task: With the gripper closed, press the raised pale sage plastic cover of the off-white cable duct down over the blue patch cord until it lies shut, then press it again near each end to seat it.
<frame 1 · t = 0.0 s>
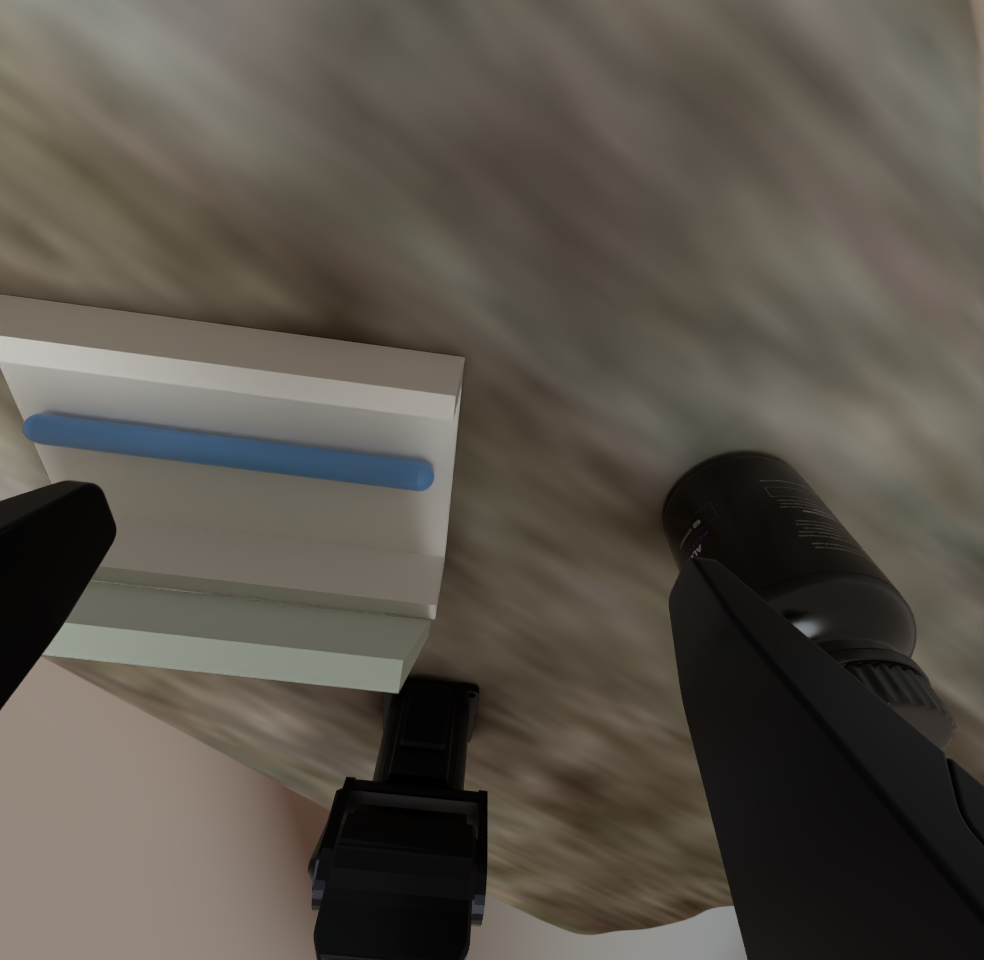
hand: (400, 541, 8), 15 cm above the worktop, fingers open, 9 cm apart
supplement bottle: (728, 506, 25), on the worktop
duct cover: (154, 614, 18), point 8 cm above the worktop, hinge at 45.0°
cable duct: (248, 448, 24), on the worktop
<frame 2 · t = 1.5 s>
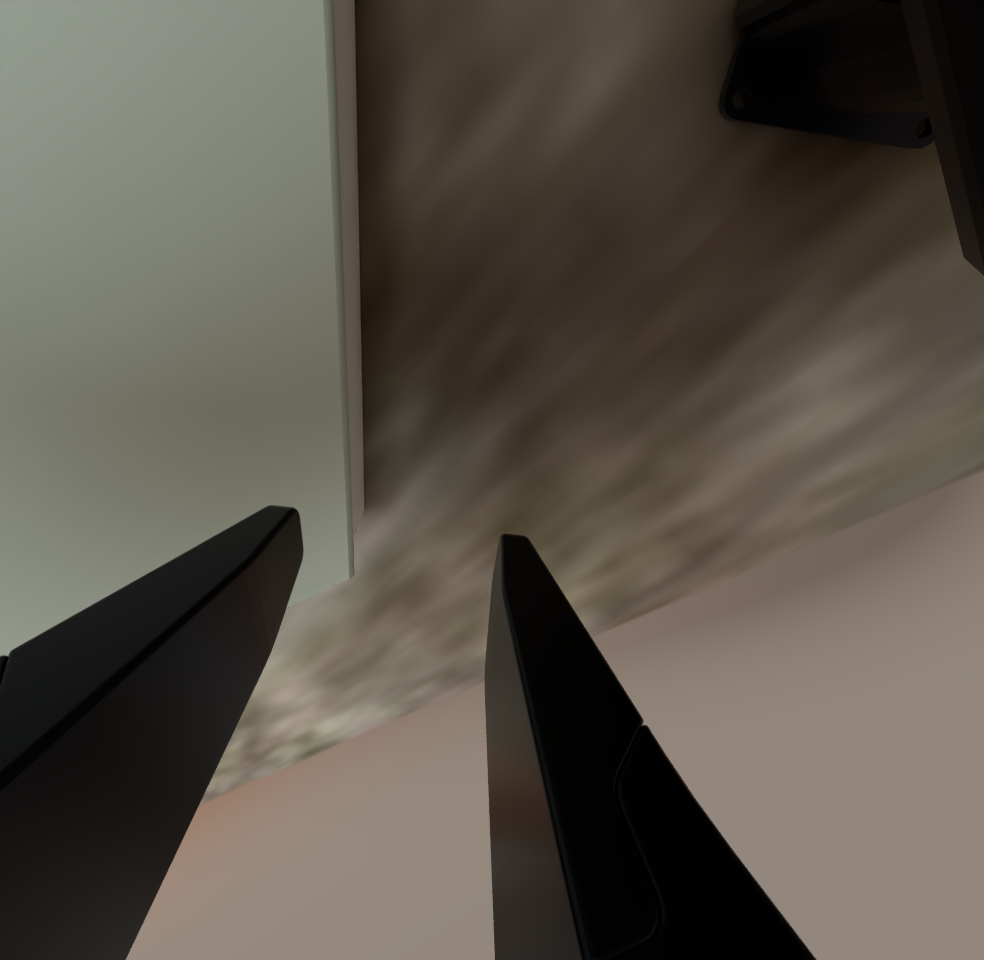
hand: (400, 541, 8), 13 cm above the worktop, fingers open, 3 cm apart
duct cover: (92, 367, 11), point 8 cm above the worktop, hinge at 45.0°
cable duct: (195, 273, 18), on the worktop
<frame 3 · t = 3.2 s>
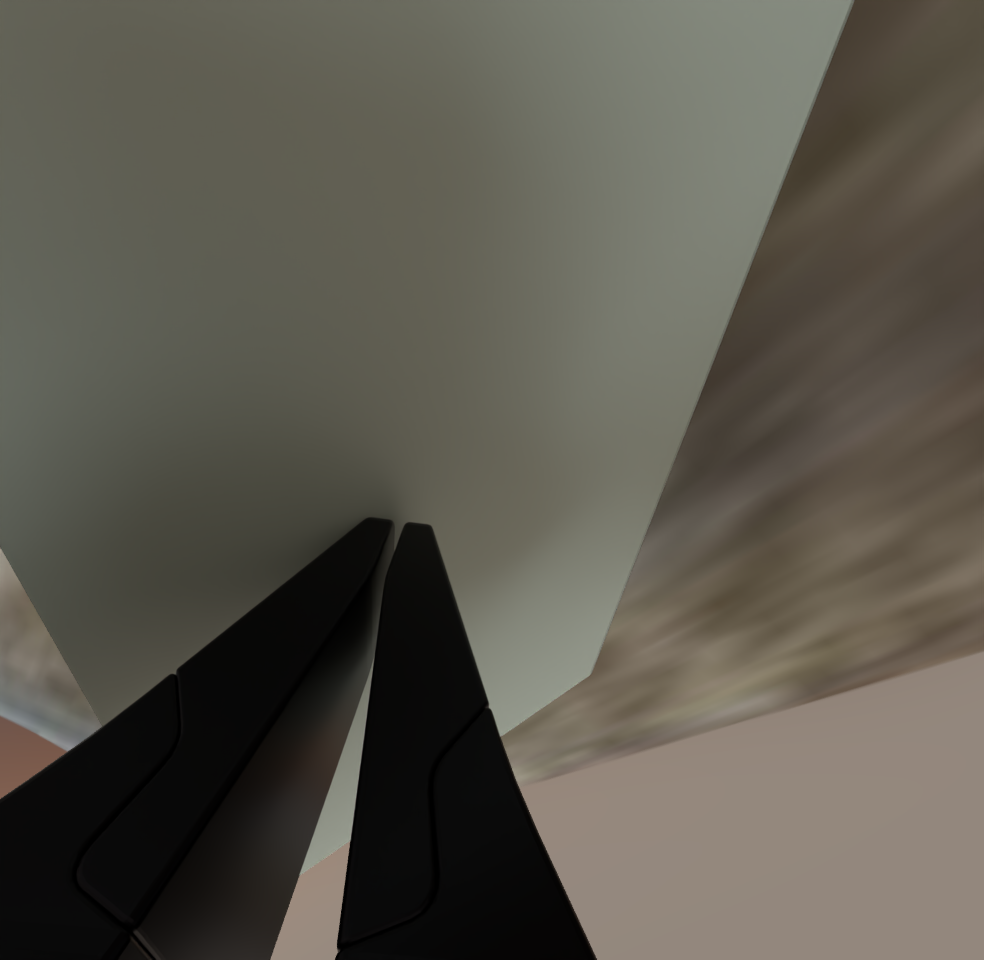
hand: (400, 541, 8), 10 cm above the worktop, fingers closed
duct cover: (484, 488, 9), point 8 cm above the worktop, hinge at 40.4°, touching gripper
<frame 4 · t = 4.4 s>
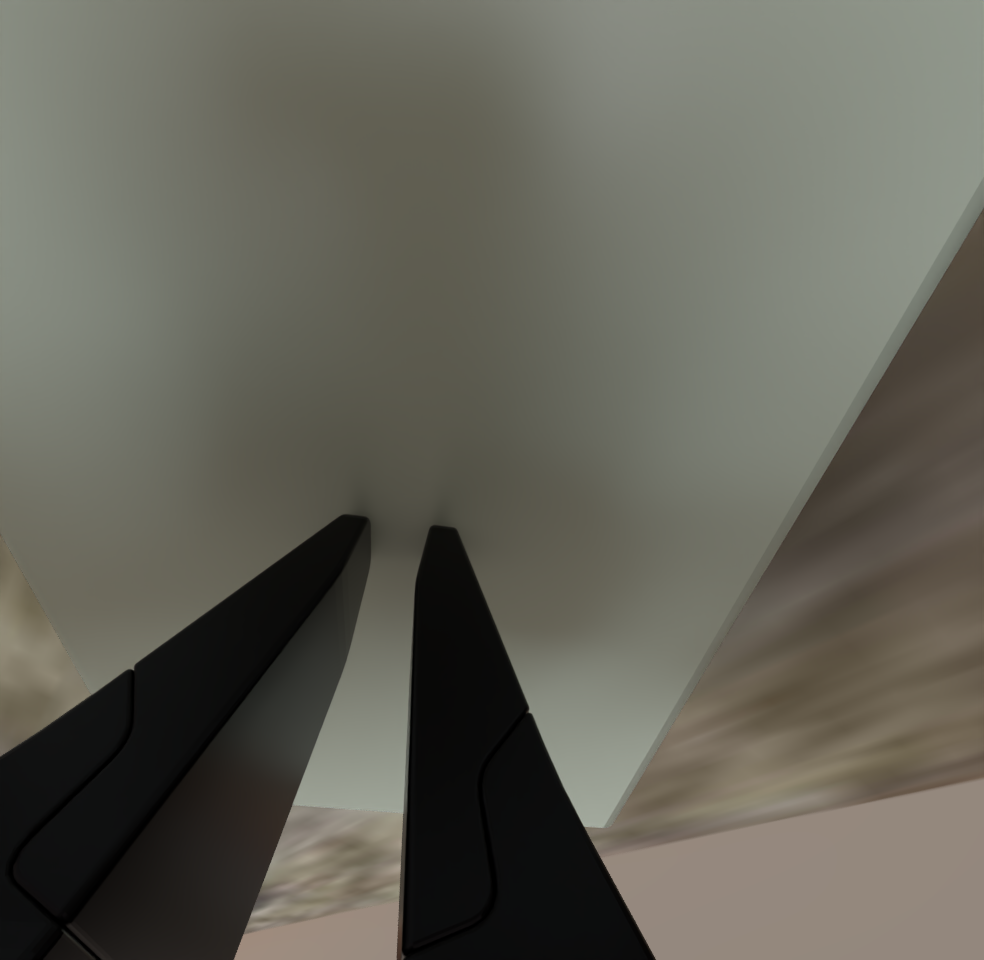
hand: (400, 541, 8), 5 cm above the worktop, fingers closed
duct cover: (399, 513, 8), point 5 cm above the worktop, hinge at 2.9°
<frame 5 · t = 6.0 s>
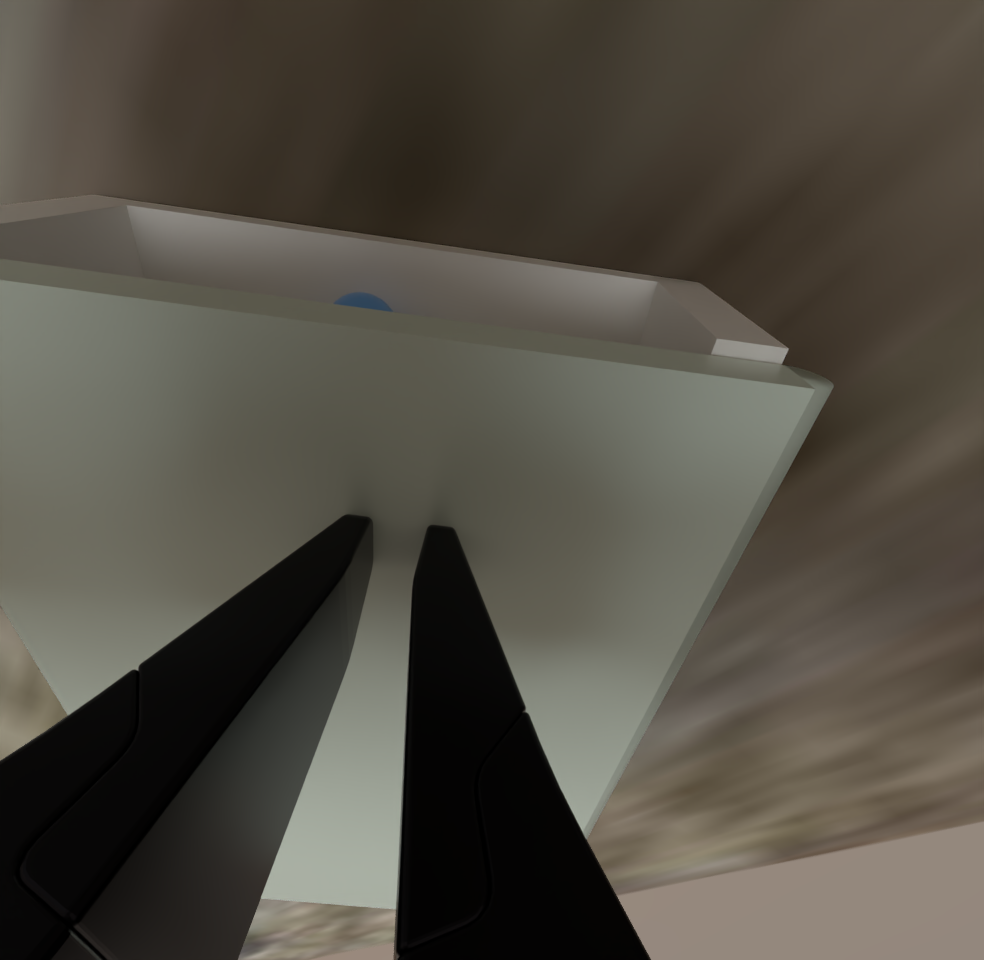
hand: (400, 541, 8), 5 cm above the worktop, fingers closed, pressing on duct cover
duct cover: (363, 738, 12), point 5 cm above the worktop, hinge at 0.7°, touching gripper
cable duct: (394, 592, 15), on the worktop
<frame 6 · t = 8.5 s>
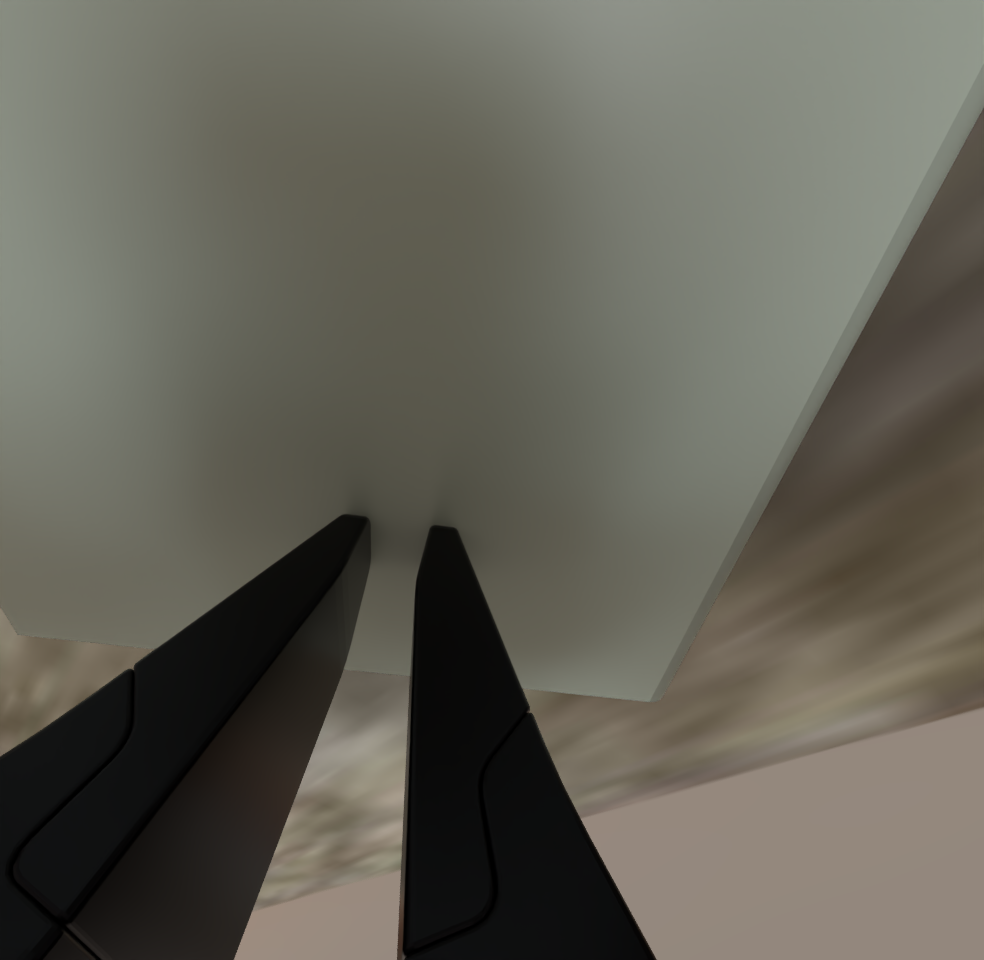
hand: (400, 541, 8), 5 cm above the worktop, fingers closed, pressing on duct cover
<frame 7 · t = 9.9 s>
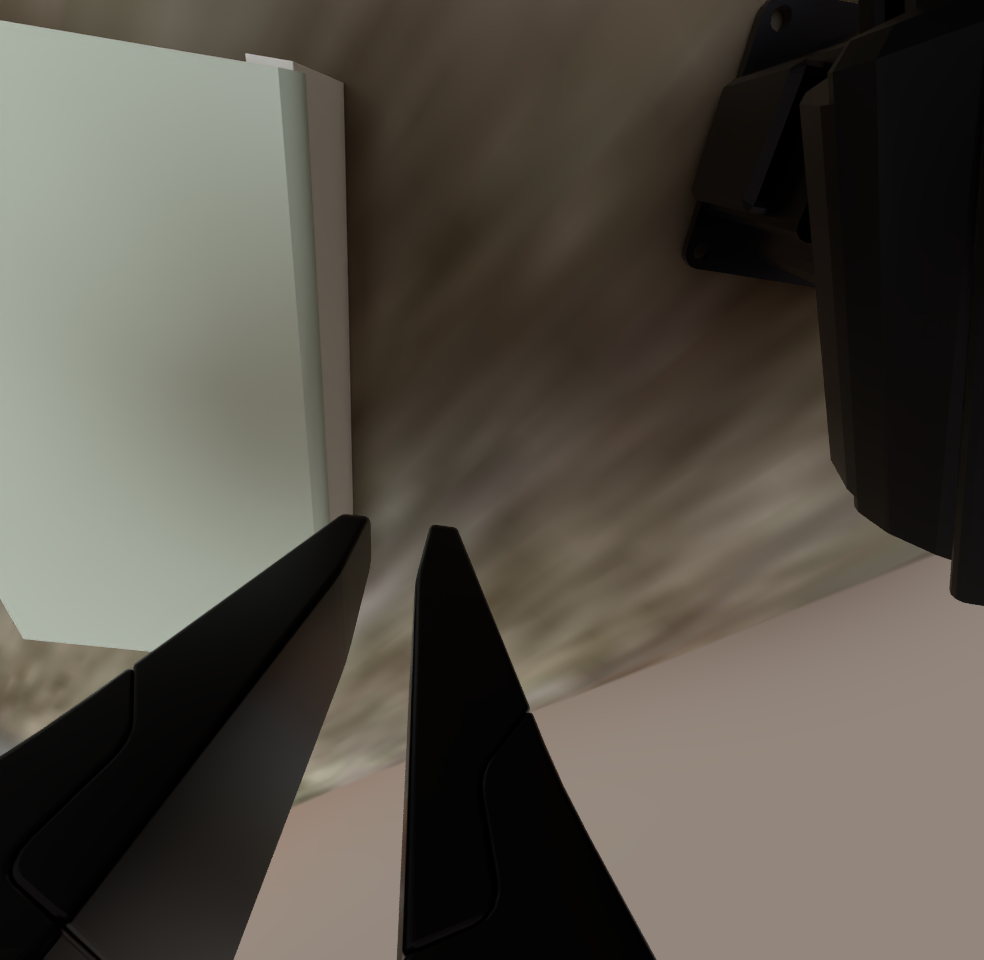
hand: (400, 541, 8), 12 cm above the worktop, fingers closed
duct cover: (123, 442, 15), point 5 cm above the worktop, hinge at 0.4°
cable duct: (193, 384, 19), on the worktop
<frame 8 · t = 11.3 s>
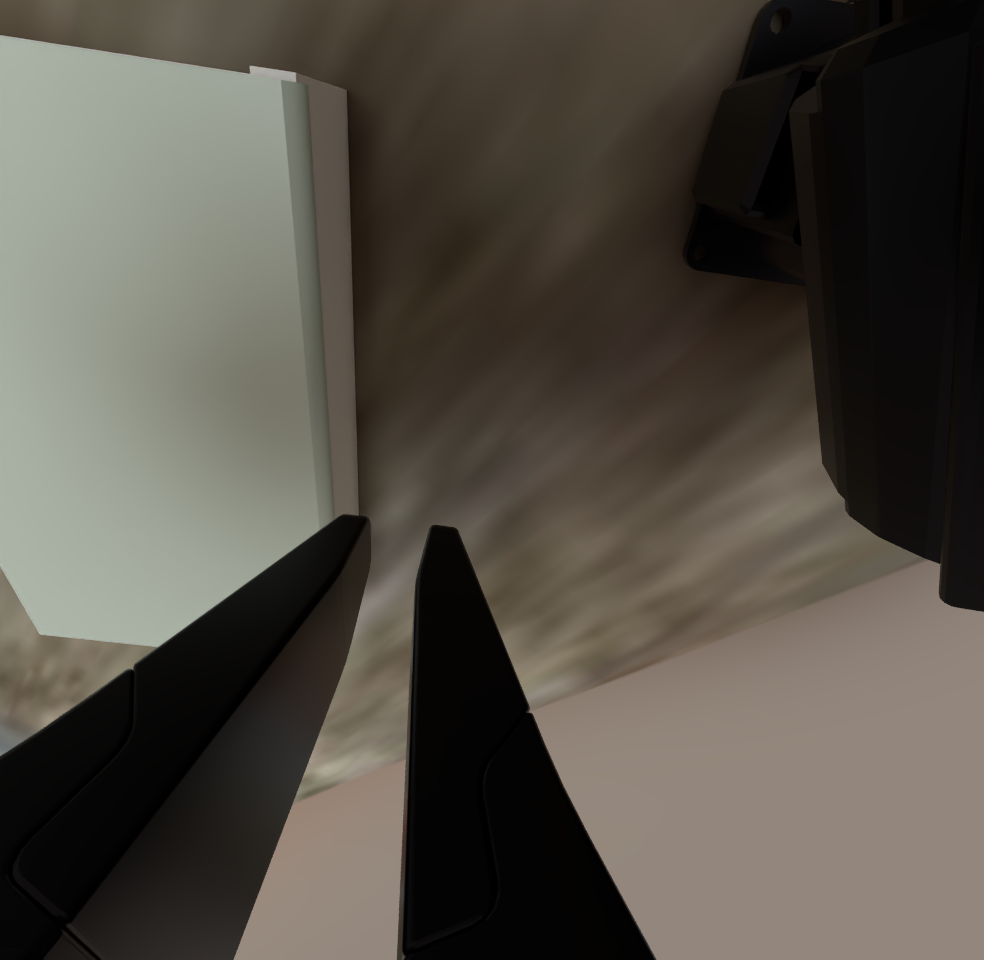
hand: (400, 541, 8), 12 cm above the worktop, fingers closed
duct cover: (134, 444, 16), point 5 cm above the worktop, hinge at 0.4°
cable duct: (202, 386, 20), on the worktop
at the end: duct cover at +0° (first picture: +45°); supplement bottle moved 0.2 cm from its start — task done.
